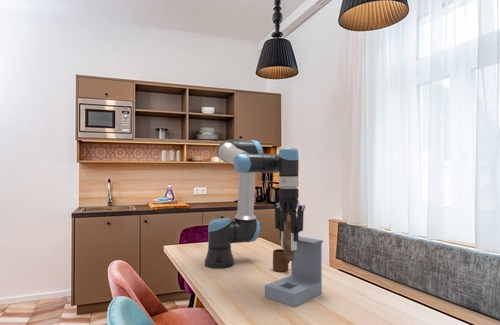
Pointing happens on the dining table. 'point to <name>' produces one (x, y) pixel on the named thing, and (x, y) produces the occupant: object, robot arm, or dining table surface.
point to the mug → (279, 261)
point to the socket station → (300, 275)
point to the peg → (288, 241)
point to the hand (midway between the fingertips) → (288, 248)
